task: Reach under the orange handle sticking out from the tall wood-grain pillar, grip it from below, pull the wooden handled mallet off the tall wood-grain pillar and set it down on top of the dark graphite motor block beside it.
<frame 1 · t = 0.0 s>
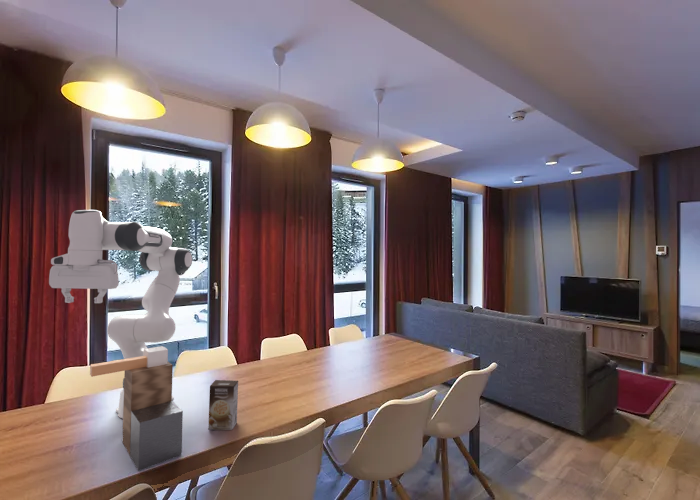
hand: (83, 302, 110), 48 cm above the table, tool pointing down, fingers open, 8 cm apart
tall wood-grain pillar: (146, 441, 117), on the table
wooden handled mallet: (148, 364, 118), point 26 cm above the table, touching tall wood-grain pillar
coffee box: (222, 426, 129), on the table
motor block: (155, 455, 109), on the table
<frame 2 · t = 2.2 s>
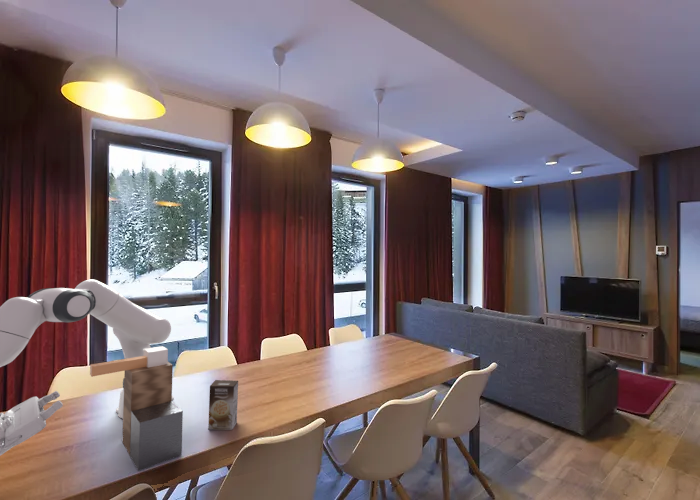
hand: (60, 397, 101), 21 cm above the table, tool pointing upward, fingers open, 8 cm apart
nothing on the table moved.
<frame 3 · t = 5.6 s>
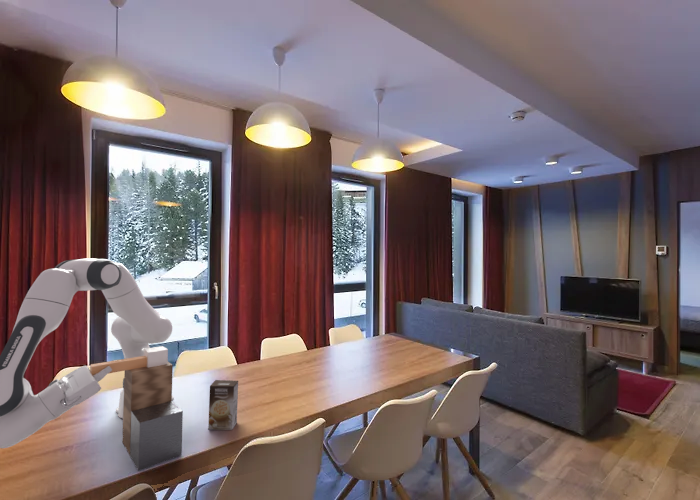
hand: (109, 365, 110), 28 cm above the table, tool pointing upward, fingers closed on wooden handled mallet, 3 cm apart
wooden handled mallet: (148, 364, 118), point 26 cm above the table, touching gripper, tall wood-grain pillar
everything else where it was.
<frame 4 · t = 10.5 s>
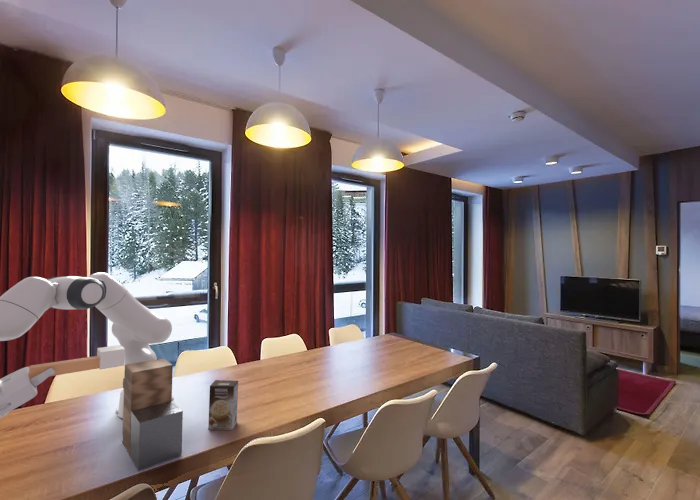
hand: (53, 367, 95), 32 cm above the table, tool pointing upward, fingers closed on wooden handled mallet, 3 cm apart
wooden handled mallet: (102, 366, 103), point 30 cm above the table, touching gripper
everything else where it was.
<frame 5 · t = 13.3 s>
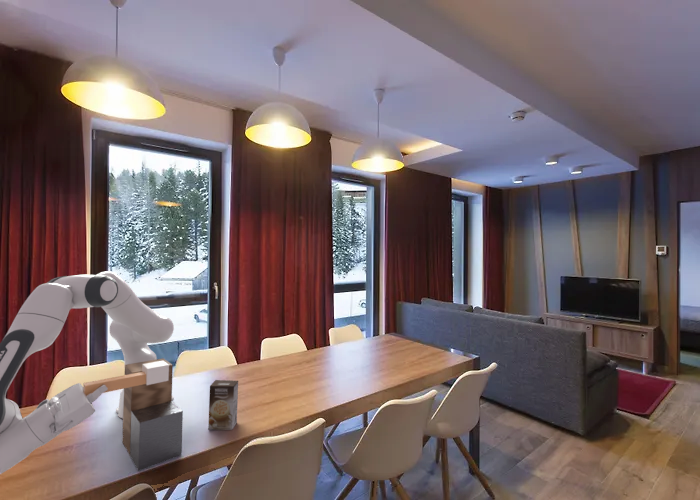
hand: (104, 384, 100), 26 cm above the table, tool pointing upward, fingers closed on wooden handled mallet, 3 cm apart
wooden handled mallet: (148, 381, 108), point 24 cm above the table, touching gripper
everything else where it was.
when the fingers open (18 cm above the table, at t = 15.8 s): wooden handled mallet drops 3 cm, resting on motor block.
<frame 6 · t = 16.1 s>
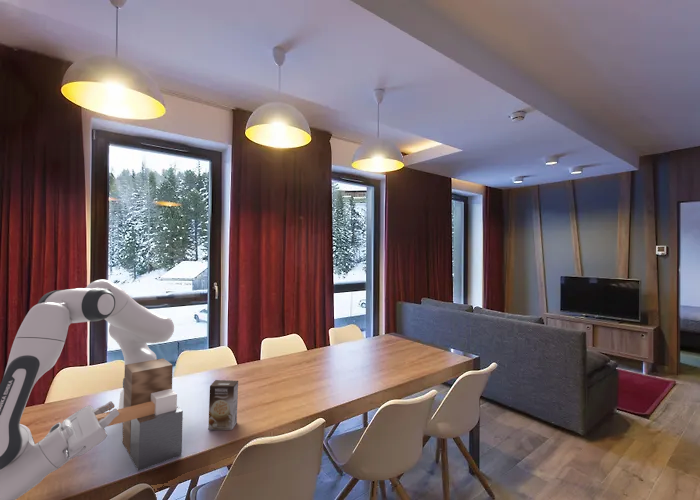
hand: (115, 407, 102), 18 cm above the table, tool pointing upward, fingers open, 5 cm apart
wooden handled mallet: (156, 411, 109), point 14 cm above the table, touching motor block
everything else where it was.
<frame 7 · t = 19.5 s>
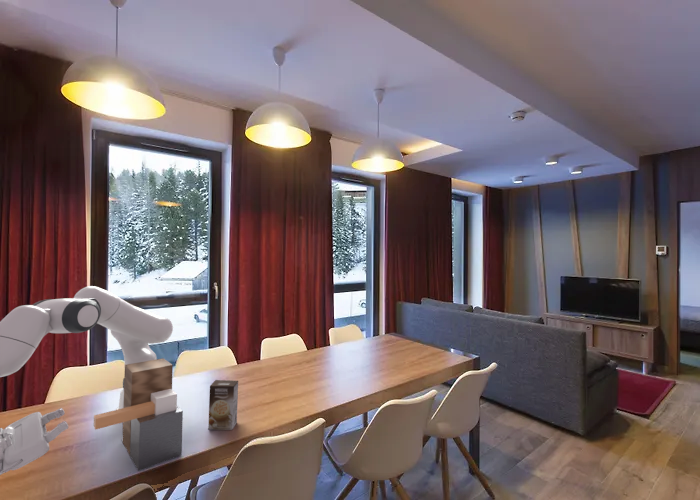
hand: (65, 417, 94), 19 cm above the table, tool pointing upward, fingers open, 8 cm apart
nothing on the table moved.
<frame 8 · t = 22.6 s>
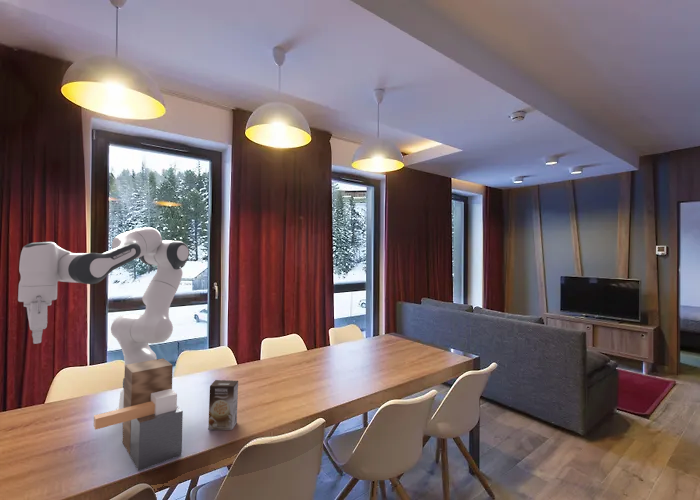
hand: (36, 340, 105), 37 cm above the table, tool pointing down, fingers open, 8 cm apart
nothing on the table moved.
at the end: wooden handled mallet inside the target area on the motor block (0.1 cm from its centre), point 14.0 cm above the motor block's base; wooden handled mallet tilted 0°; the gripper is holding nothing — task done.
